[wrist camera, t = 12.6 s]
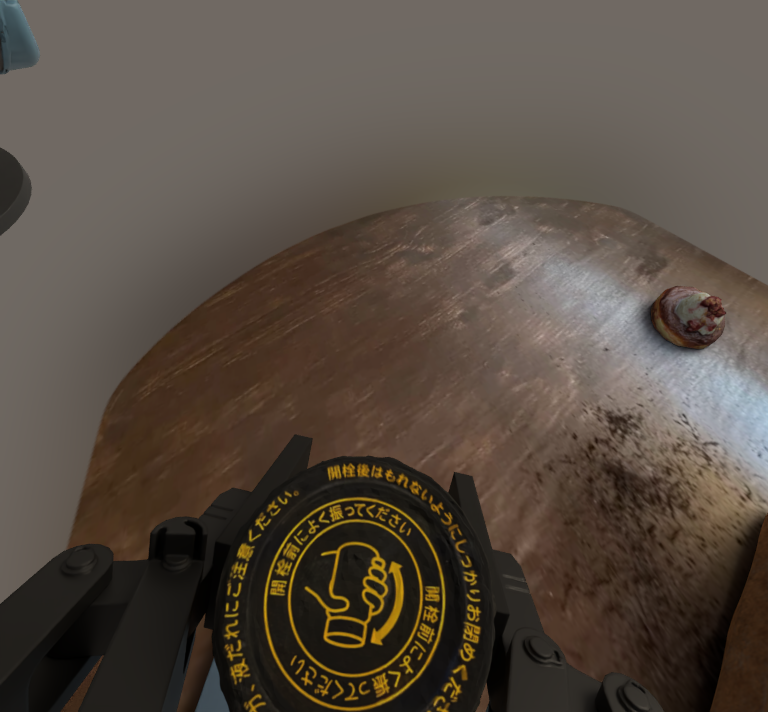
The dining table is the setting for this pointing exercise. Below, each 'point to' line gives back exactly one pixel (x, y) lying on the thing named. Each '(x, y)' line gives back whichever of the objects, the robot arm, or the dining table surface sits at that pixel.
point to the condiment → (355, 597)
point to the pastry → (688, 317)
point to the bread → (747, 643)
